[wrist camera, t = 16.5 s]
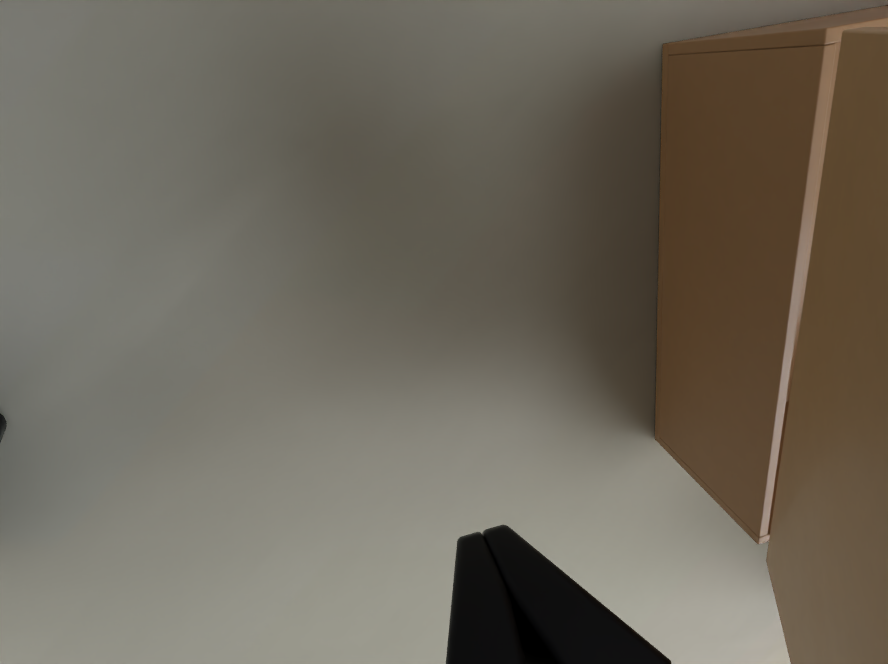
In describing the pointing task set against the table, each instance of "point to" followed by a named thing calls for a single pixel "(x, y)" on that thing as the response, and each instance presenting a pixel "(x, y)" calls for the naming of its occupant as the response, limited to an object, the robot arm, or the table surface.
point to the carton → (739, 245)
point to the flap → (841, 390)
